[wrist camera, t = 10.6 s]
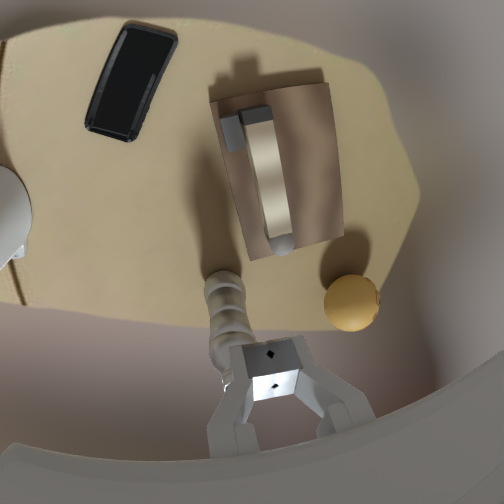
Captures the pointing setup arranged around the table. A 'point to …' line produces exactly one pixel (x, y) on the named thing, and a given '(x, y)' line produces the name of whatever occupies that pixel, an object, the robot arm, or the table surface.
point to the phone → (129, 82)
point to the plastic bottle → (226, 319)
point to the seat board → (287, 163)
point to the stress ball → (351, 302)
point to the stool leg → (268, 176)
